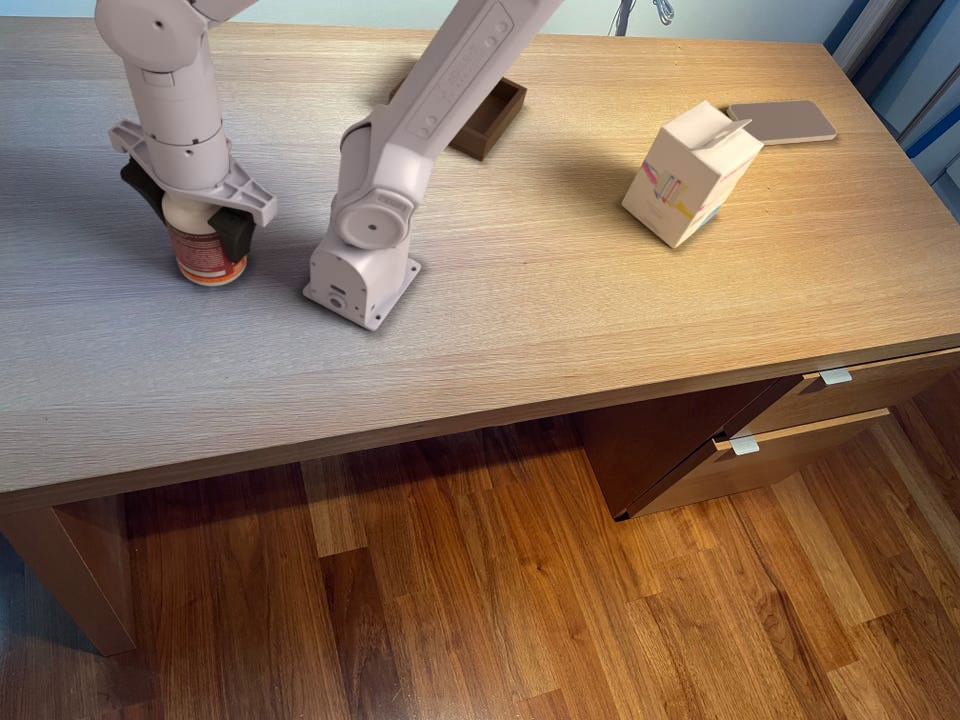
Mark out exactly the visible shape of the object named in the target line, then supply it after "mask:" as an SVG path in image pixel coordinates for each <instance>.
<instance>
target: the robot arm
mask: <svg viewBox="0 0 960 720" xmlns="http://www.w3.org/2000/svg"><path fill="white" fill-rule="evenodd" d="M259 1H260V0H96V2H95V7H94V13H93V14H94V17H93V18H94V23H95V26H96V29H97V31H98V34H99V36H100V37H101V39H102V40H103V41H104V43H105V44H106V45H107V46H108V48H109V49H110V50H111V51H112V52H113V53H115V54H116V56H118V57H119V58H121V60H122V64H123V67H124V72H125V76H126V79H127V82H128V86H129V89H130V92H131V97H132V99H133V103H134V107H135V110H136V113H137V117H138V120H139V123H137V122H134V121H132V120H129V119H128V118H123V119H121V120H120V121H118V122H117V123H116V124H115V125H113V126H112V127H111V128H109V129H108V130H107V135H108V137H109V140H110V143H111V146H112V148H113V150H114V151H116V152H118V153H119V154H127V153H128V155H129V159H128V163H126V164H125V165H124V166H123V167H121V169H120V171H119V175H120V178H121V180H122V181H123V182H125V183H126V184H128V185H129V186H130V187H131V188H133V190H135V191H136V192H137V193H138V194H139V195H140V196H141V197H142V198H143V199H144V200H145V201H146V202H147V203H148V205H149V206H150V207H151V208H152V210H153V211H154V212H155V214H156V215H157V217H158V219H160V221H161V222H162V223H163V225H164V226H165V228H167V224H166V221H165V217H164V213H163V209H162V200H163V196H164V194H165V192H168V193H170V194H172V195H175V196H178V197H182V198H187V199H192V200H197V201H201V202H206V203H211V204H216V205H221V206H223V207H221V208H220V209H219V210H218V211H217V212H216V213H215V214H214V215H213V216H212V217H211V218H210V219H209V220H208V221H207V222H208V225H210V226H211V227H212V228H213V229H214V230H215V231H216V232H217V233H218V235H219V236H220V238H221V240H222V242H223V245H224V249H225V252H226V255H227V257H228V259H229V260H230V261H231V262H233V263H234V264H238V263H239V262H240V261H241V260H242V259H243V257H244V256H245V255H246V254H247V255H248V253H250V250H251V244H252V239H253V236H254V233H255V230H256V226H257V225H258V226H260V227H262V228H266V226H267V225H268V224H270V222H272V220H273V219H275V218H276V216H277V215H278V214H279V206H278V205H279V204H278V197H277V195H274V194H273V193H271V192H269V191H268V190H267V189H266V188H264V187H263V186H262V185H261V184H260V183H259V182H258V181H257V180H256V179H255V178H254V177H253V176H252V175H251V174H250V173H249V172H248V171H247V170H246V169H245V168H244V167H243V165H241V164H240V162H238V160H237V159H235V157H233V155H231V152H232V150H233V149H234V148H233V141H232V140H231V139H230V138H228V137H226V132H225V131H226V130H225V125H224V119H223V114H222V113H223V112H222V107H221V101H220V96H219V88H218V84H217V76H216V71H215V70H216V69H215V65H214V61H213V58H212V55H211V49H210V43H209V42H210V41H209V36H208V30H212V29H214V28H217V27H219V26H221V25H223V24H224V23H226V22H227V21H229V20H230V19H233V18H234V17H236V16H237V15H239V14H240V13H242V12H243V11H244V10H247V9H248V8H249V7H251V6H253V5H254V4H256V3H257V2H259ZM564 2H565V0H458V1H456V3H455V5H454V7H453V8H452V9H451V10H450V12H449V14H448V15H447V17H446V18H445V19H444V21H443V23H442V24H441V26H440V27H439V29H438V30H437V32H436V33H435V34H434V36H433V37H432V39H431V41H430V42H429V44H428V45H427V46H426V48H425V49H424V51H423V53H422V54H421V56H419V59H417V61H416V63H415V64H414V66H413V68H412V69H411V70H410V71H409V73H408V74H409V75H408V74H407V75H408V76H407V75H406V76H407V78H406V79H405V81H404V82H403V84H402V85H401V87H400V88H399V90H398V91H397V93H396V94H395V96H394V97H393V99H392V100H391V102H390V103H389V102H388V104H383V103H382V104H381V103H377V104H376V105H374V107H373V108H372V111H371V112H370V113H369V114H368V115H367V116H366V117H364V118H363V119H362V120H359V121H358V122H355V123H353V124H352V125H350V126H349V127H348V128H347V129H346V130H345V131H344V133H343V134H342V136H341V138H340V142H339V152H340V161H339V172H338V182H337V191H336V193H335V195H334V196H333V198H332V200H331V204H330V215H329V223H328V226H327V230H326V231H325V235H324V236H323V239H322V240H321V242H320V243H319V244H318V245H317V246H316V248H315V249H314V250H313V252H312V253H311V255H310V258H309V277H310V281H309V282H308V283H307V284H306V285H305V287H304V288H303V289H302V294H303V296H304V297H306V298H308V299H309V300H311V301H313V302H315V303H317V304H319V305H320V306H323V307H325V308H327V309H328V310H330V311H332V312H334V313H336V314H338V315H340V316H341V317H344V318H346V319H347V320H349V321H351V322H353V323H355V324H357V325H359V326H360V327H362V328H364V329H366V330H368V331H370V332H375V331H377V330H378V328H379V327H380V325H381V324H382V323H383V322H384V320H385V319H386V317H387V316H388V315H389V313H390V312H391V311H392V309H393V308H394V307H395V305H396V304H397V302H398V301H399V299H401V297H402V295H404V293H405V292H406V290H407V289H408V287H409V286H410V285H411V283H412V282H413V280H414V279H415V278H416V276H417V275H418V273H419V272H420V271H421V268H422V265H421V263H420V262H418V261H416V260H415V259H412V258H410V257H409V250H410V245H411V237H412V231H413V227H414V226H413V225H414V218H415V213H416V211H417V210H418V209H419V208H420V207H421V205H422V204H423V201H424V198H425V194H426V191H427V188H428V184H429V182H430V178H431V174H432V171H433V168H434V165H435V162H436V160H437V159H438V158H439V157H440V155H442V153H443V152H444V150H445V149H446V148H447V147H448V146H449V145H448V144H449V143H450V141H451V140H452V139H453V138H454V136H455V135H456V134H457V133H458V131H459V130H460V129H461V128H462V127H463V125H464V124H465V123H466V122H467V120H468V119H469V118H470V117H471V115H472V114H473V113H474V112H475V110H476V109H477V108H478V107H479V105H480V104H481V103H482V102H483V101H484V99H485V98H486V97H487V96H488V94H489V93H490V92H491V91H492V89H493V88H494V87H495V86H496V84H497V83H498V82H499V81H500V79H501V78H502V77H504V76H505V74H506V73H507V72H508V71H509V70H510V69H511V67H512V66H513V65H514V64H515V62H516V61H517V60H518V59H519V57H520V56H521V55H522V54H523V53H524V52H525V50H526V48H527V47H528V46H529V45H530V44H531V43H532V41H533V40H534V39H535V37H536V36H537V35H538V34H539V33H540V31H541V30H542V29H543V27H544V26H545V25H546V24H547V23H548V21H549V20H550V19H551V18H552V16H553V15H554V14H555V12H557V10H558V9H559V8H560V6H561V5H563V3H564ZM378 318H379V319H378Z"/></svg>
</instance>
